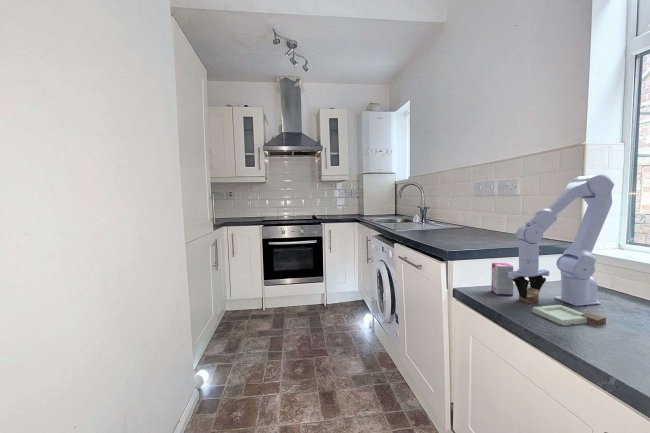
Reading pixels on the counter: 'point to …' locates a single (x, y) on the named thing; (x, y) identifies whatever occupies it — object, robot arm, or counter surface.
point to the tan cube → (531, 295)
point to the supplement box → (502, 279)
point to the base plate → (560, 314)
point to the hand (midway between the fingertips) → (528, 296)
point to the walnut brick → (594, 319)
